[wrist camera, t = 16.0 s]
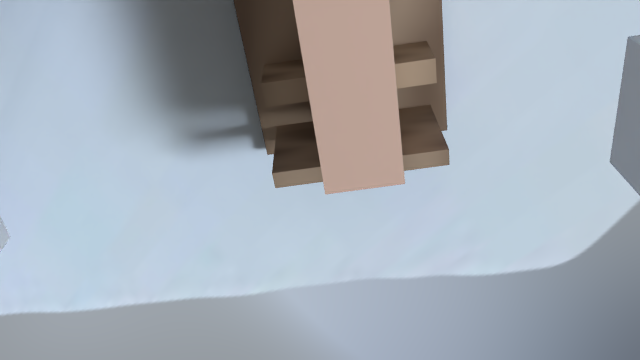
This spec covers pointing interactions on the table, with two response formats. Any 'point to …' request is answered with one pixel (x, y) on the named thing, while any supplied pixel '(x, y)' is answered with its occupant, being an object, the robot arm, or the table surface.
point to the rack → (293, 99)
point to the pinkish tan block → (352, 91)
